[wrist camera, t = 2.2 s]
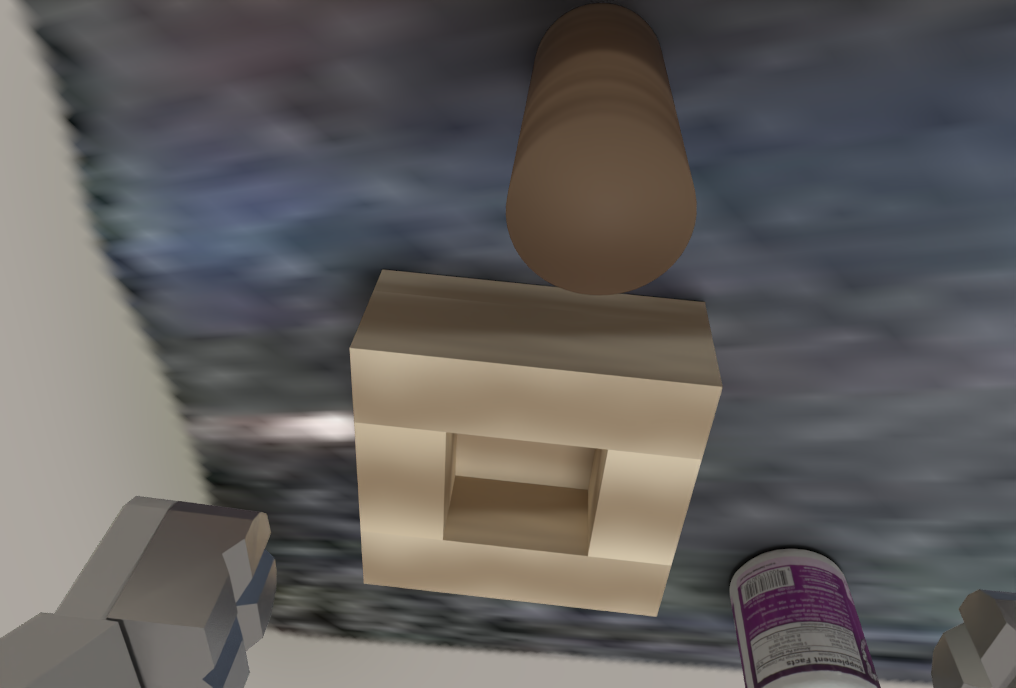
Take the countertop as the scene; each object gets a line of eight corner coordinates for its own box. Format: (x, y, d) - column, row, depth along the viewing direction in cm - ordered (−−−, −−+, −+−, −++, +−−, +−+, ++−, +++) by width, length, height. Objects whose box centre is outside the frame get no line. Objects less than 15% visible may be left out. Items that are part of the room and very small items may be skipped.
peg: (540, -3, 24) (512, 114, 16) (674, 9, 24) (715, 133, 16) (529, 126, 26) (500, 286, 18) (651, 138, 26) (676, 304, 18)
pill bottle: (830, 619, 40) (888, 828, 32) (720, 612, 40) (751, 817, 32) (857, 546, 36) (929, 759, 29) (737, 539, 37) (777, 747, 29)
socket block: (382, 269, 30) (349, 348, 26) (704, 302, 30) (722, 387, 26) (388, 494, 37) (364, 583, 33) (649, 522, 37) (656, 616, 33)
